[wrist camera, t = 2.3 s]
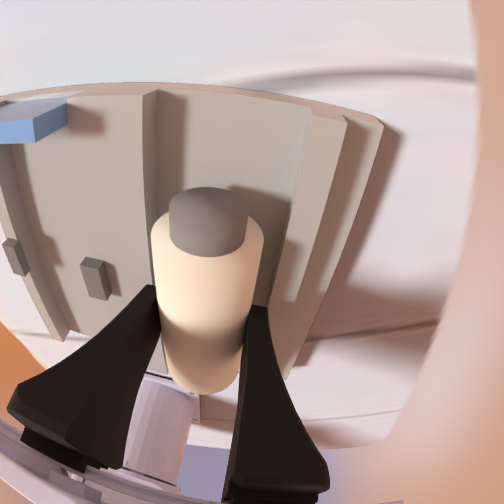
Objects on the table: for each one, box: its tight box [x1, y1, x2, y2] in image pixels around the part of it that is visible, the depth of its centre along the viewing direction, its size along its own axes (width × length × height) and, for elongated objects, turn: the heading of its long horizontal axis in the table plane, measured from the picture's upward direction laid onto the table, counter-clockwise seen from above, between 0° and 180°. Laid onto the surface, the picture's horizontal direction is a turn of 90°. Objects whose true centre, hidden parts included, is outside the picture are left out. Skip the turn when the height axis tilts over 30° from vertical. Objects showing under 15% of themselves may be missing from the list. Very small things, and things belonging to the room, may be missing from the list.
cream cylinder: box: [151, 187, 264, 395], centre depth 12 cm, size 10×4×4 cm, turn 173°
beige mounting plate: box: [0, 82, 384, 380], centre depth 13 cm, size 16×18×4 cm
